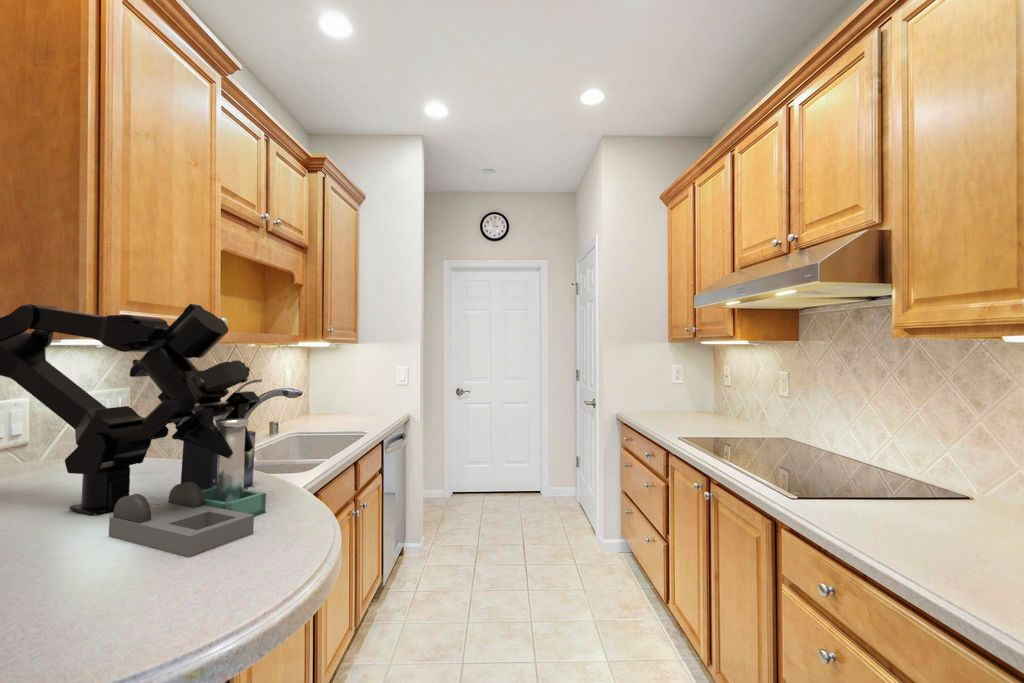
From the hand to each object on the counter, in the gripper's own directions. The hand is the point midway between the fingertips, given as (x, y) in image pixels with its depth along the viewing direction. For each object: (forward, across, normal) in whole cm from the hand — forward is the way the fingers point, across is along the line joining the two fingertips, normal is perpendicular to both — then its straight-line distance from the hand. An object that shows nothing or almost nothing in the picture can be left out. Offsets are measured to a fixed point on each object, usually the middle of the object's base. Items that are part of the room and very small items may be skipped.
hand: (240, 452), depth 75 cm
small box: (-2, +12, +16) cm, 19 cm away
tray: (+5, 0, +9) cm, 10 cm away
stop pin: (+5, 0, +7) cm, 9 cm away
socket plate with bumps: (+5, -8, +8) cm, 13 cm away
